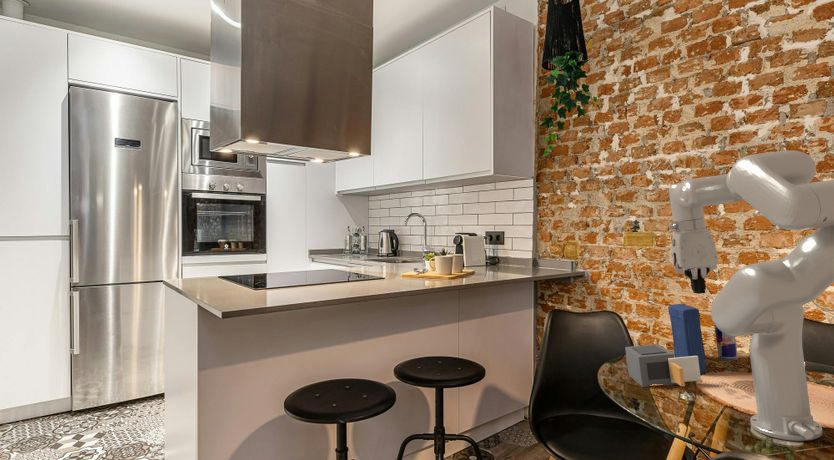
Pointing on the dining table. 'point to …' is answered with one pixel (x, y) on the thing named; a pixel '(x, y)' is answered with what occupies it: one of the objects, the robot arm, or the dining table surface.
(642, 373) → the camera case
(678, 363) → the white square panel
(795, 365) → the robot arm
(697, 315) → the electronic device
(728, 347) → the energy drink
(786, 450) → the dining table surface
